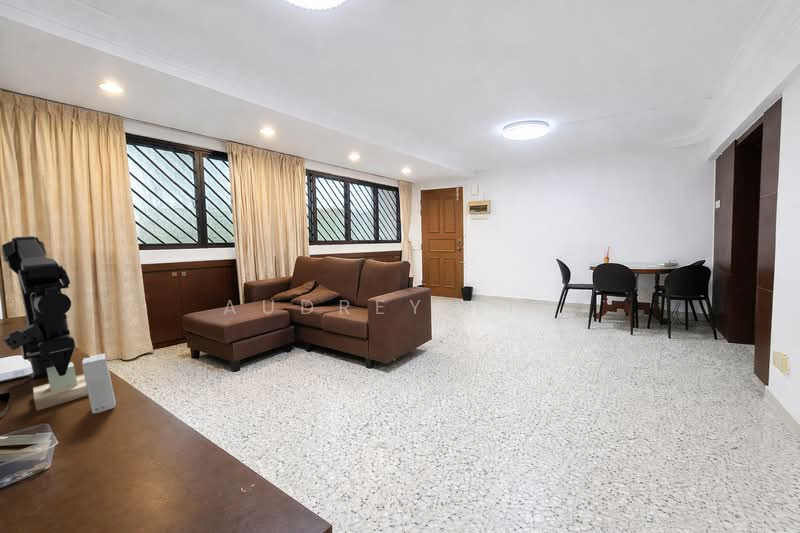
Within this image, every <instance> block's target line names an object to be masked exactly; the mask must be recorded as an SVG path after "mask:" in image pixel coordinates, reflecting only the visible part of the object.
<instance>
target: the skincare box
mask: <svg viewBox="0 0 800 533" xmlns="http://www.w3.org/2000/svg"><path fill="white" fill-rule="evenodd" d="M81 367H82V371H83V373H82V374H84V377H85V381H86V386H87V391H88V395H87V396H88V401H89V404H90V409H91V413H92V414H99V413H102V412H106V411H108V410H112V409H115V407H116V405H117V404H116V396H115V393H114V389H113V388H114V387H113V383H112V379H111V372H110V369H109V365H108V362H107V356H106V352H105V353H99V354H96V355H95V354H94V355H92V356H91V355H90V356H87V357H83V359H82V361H81Z"/></svg>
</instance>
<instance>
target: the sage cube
mask: <svg viewBox="0 0 800 533" xmlns="http://www.w3.org/2000/svg"><path fill="white" fill-rule="evenodd" d="M73 362H74V361H71V362H69V365H68V368H67V371H66V374H65V375H63V376H59V374H58V372H57V370H56V368H55V366H54V367H50V368H46V369H47V374H48V375H47V378H48V383H49V384H50V389H51V392H53V391H56V390H60V389H63V388H67V387H70V386H74V385H78V383H77V378H76V376H77V374H76V368H75V364H74V363H73Z"/></svg>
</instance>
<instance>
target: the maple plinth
mask: <svg viewBox="0 0 800 533" xmlns="http://www.w3.org/2000/svg"><path fill="white" fill-rule="evenodd" d="M76 378H77V383H78V385H74V386H70V387H67V388H63V389H60V390H56V391H53V392H51V389H50V384H49V382H48V383H45V384H41V385H37V386H34V387H33V388H32V390H33V391H32V392H33V402H34V406H35V409H36V410H35V411H40V410H43V409H44V410H45V409H47V408H50V407H54V406H57V405H61V404H63V403H68V402H70V401H71V402H72V401H74V400H76V399H80V398H84V397H86V396H88V391H87V386H86V381H85V377H84V373H82V374H79V375H76Z"/></svg>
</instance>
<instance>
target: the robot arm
mask: <svg viewBox="0 0 800 533" xmlns="http://www.w3.org/2000/svg"><path fill="white" fill-rule="evenodd" d="M45 247H46V246H45V244H44V241H41V240H39V237H37V236H34V235H33V236H32V235H31V236H16V237H14V238H13V237H12V238H11V241H9V242H6V243H4V244H2V245H1V256H2V259H3V260H2V261H3V262H4V263H7V267H8V268H9V269H11V271H13V273H15V274H16V275H17V277H18V282H19V288H20V293H21V297H22V302H23V307H24V312H25V317H26V321H27V324H26V325H25V326H24V327H23V328H21V329H16V330H14V331H13V332H9V334H8V335H6V336H4V337H3V339H2V340H3V342H4V344H6V346H7V347H9V349H10V350H11V351H15V350H18V349H19V348H20V352H21V355H22V356H21V357H22V358H23V360H24V361H26V360H30V366H31V369H32V370H31V371H32V372H31V380H34V379H39V378H43V377H48V374H47V369H46V368H50V367H54V366H55V368H56V370H57V372H58V374H59V376H63V375H65V374H66V371H67V368H68V365H69V363H70V361H71V358H72V356H73V353H74V351H75V348H76V343H75V338H74V337H73V336H72V335H71V333H70V332H71V331H70V329H69V326H68V320H67V319H68V317H67V314H66V313H67V312H68V311H69V310H70V309H71V308H72V301H71V298H70V297H69V296H68V295H66V294H65V293H63V292H62V290H64V289H69V288H70V287H69V285H71V280H70V278H69V276H68V273H67V271H66V269H65V268H63V265H59V263H58V262H57V261H56V260H55V259H54V258H50V257H47V251H46V248H45Z"/></svg>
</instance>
